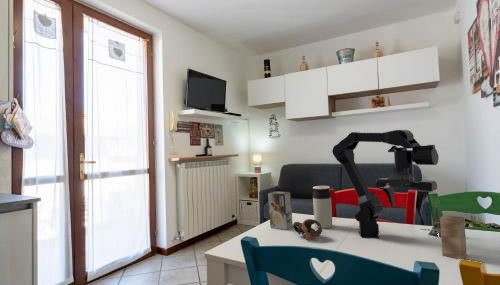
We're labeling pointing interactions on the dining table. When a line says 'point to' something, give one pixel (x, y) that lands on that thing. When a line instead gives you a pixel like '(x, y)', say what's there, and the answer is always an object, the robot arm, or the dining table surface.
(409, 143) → the robot arm
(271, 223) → the coffee box
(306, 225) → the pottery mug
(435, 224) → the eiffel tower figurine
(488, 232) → the dining table surface
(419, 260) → the dining table surface
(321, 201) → the travel mug
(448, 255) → the walnut block
